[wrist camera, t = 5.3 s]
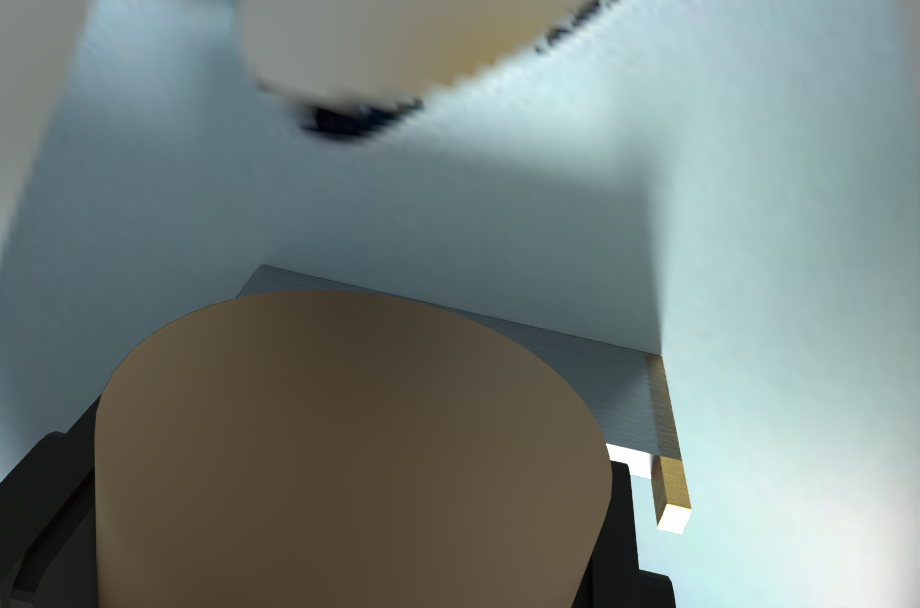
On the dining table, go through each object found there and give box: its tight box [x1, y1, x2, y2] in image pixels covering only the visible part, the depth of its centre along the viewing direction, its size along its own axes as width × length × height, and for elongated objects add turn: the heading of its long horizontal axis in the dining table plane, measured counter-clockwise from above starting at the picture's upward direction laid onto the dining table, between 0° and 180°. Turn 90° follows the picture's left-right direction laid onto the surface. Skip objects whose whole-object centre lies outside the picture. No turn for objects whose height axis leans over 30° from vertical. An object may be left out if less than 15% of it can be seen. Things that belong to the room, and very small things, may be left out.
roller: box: [95, 289, 612, 608], centre depth 10 cm, size 5×5×5 cm
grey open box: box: [236, 265, 691, 533], centre depth 26 cm, size 13×8×7 cm, turn 79°
